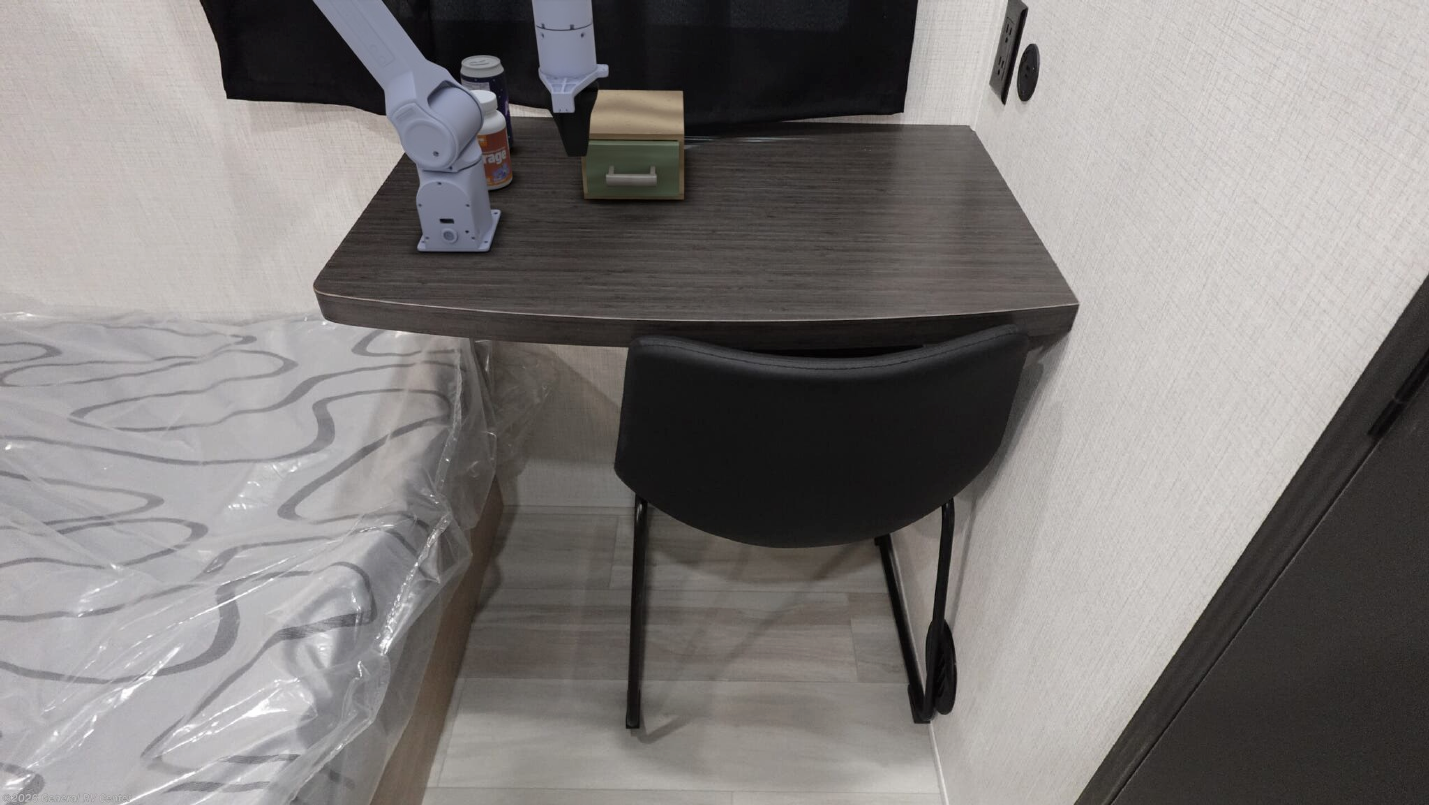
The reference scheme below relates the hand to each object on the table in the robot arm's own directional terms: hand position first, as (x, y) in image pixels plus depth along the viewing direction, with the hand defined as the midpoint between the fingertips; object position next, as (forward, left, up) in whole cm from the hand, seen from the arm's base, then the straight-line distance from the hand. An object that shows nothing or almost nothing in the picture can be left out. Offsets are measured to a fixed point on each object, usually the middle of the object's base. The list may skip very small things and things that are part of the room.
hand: (577, 154), depth 91 cm
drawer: (+14, -5, -9) cm, 18 cm away
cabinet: (+18, -5, -10) cm, 21 cm away
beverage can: (+25, +15, -11) cm, 31 cm away
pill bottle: (+15, +14, -11) cm, 23 cm away
